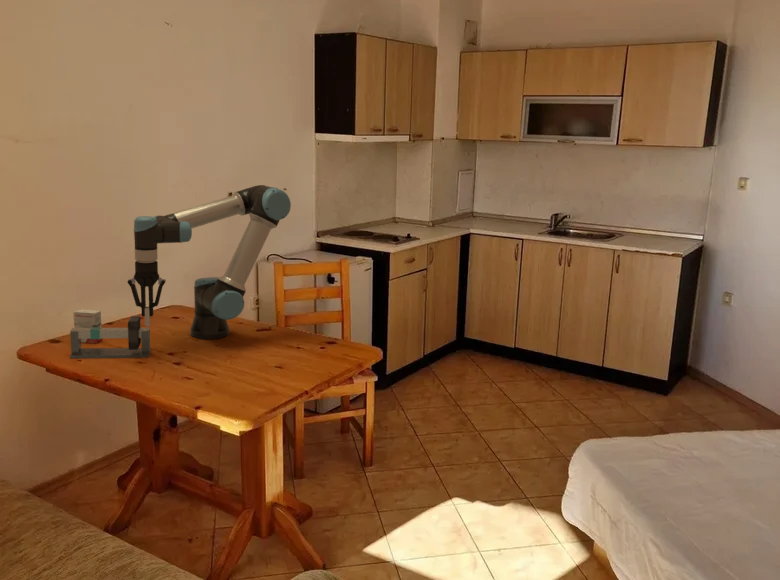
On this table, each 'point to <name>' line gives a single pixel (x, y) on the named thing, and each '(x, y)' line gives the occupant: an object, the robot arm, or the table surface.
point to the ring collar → (134, 333)
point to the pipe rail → (99, 333)
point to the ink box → (87, 322)
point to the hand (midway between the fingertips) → (147, 324)
